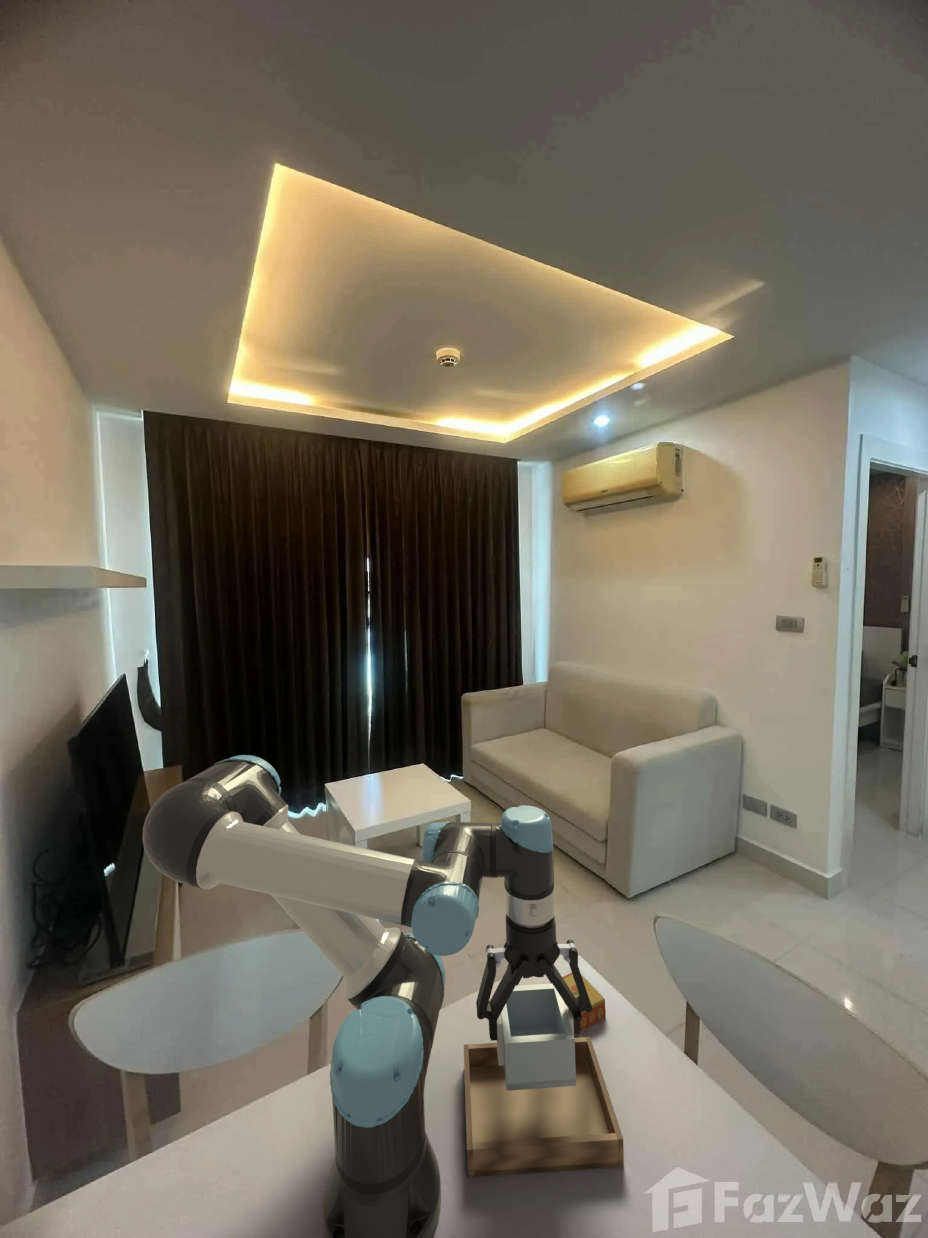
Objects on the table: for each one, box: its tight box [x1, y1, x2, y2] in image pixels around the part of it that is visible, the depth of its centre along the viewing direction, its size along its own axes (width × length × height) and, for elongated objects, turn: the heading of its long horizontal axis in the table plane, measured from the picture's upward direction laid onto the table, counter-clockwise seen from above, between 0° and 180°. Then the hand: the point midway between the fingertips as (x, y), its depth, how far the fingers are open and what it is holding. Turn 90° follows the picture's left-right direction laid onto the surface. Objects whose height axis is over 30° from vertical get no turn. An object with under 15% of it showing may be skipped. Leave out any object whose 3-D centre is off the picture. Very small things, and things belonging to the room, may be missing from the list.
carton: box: [549, 972, 607, 1033], centre depth 90 cm, size 8×16×4 cm, turn 117°
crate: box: [463, 1036, 625, 1179], centre depth 74 cm, size 22×16×4 cm
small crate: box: [501, 983, 576, 1091], centre depth 74 cm, size 10×10×7 cm
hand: (535, 1055), depth 74 cm, fingers closed on small crate, 10 cm apart
